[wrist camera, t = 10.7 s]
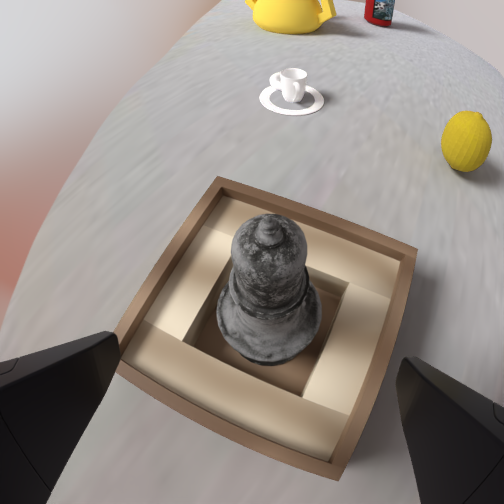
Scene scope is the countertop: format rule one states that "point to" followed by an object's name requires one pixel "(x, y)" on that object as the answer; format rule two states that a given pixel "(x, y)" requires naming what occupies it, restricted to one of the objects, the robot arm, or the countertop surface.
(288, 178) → the countertop surface
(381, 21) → the beverage can
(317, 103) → the teacup and saucer
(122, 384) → the countertop surface
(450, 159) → the lemon
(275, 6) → the teapot
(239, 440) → the walnut box
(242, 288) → the grey stone tall piece
